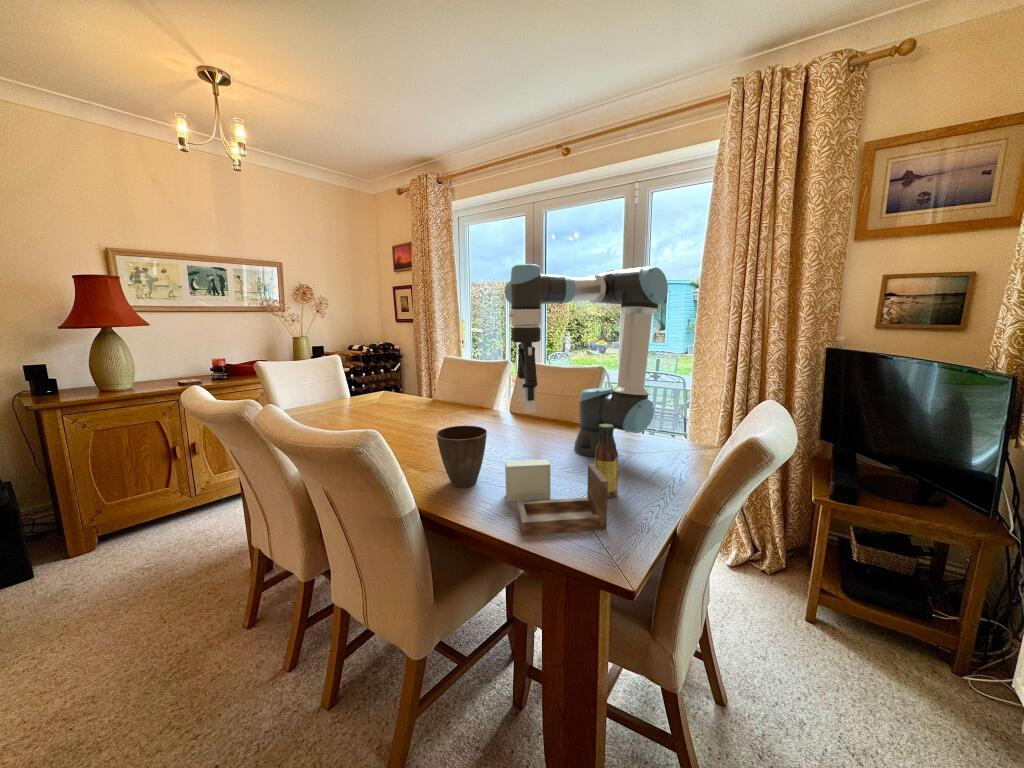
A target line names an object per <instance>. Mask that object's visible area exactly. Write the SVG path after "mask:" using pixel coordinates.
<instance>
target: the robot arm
mask: <svg viewBox="0 0 1024 768" xmlns="http://www.w3.org/2000/svg"><path fill="white" fill-rule="evenodd" d="M510 273H511V274H510V280H509V281H508V282H507V283H506V285H505V287H504V295H505V299H506V301H507V302H508V304H511V313H509V316H508V317H509V318H511V325H512V326H513V327H512V328H511V342H513V343H518V346H517V347H518V349H517V354H518V356H517V372H516V374H517V377H518V379H517V380H518V381H517V382H518V390H517V391H518V395H517V396H518V402H524V413H525V414H536V413H537V407H536V406H537V405H536V404H537V403H536V402H537V398H536V397H537V395H536V391H537V386H538V380H537V379H538V378H537V377H538V376H537V365H536V364H537V363H536V347H535V346H533V343H538V342H541V340H542V338H541V334H542V333H541V332H542V331H541V328H540V327H539V326H540V325H542V319H541V318H542V310H541V309H542V308H541V305H547V304H548V305H551V304H552V305H553V304H557V305H562V304H569V303H571V302H583V301H586V302H587V301H588V302H589V303H592V304H596V303H597V304H598V303H600V304H609V305H620V309H621V311H622V312H623V313H624V323H623V330H622V338H621V339H622V340H621V350H620V359H619V368H618V378H617V379H618V380H617V385H616V386H615V387H614V388H612V387H594V388H587V389H584V390H582V391H581V392H580V395H579V401H578V403H579V430H578V432H577V435H576V438H575V442H574V451H575V452H576V453H578V454H579V455H583V456H587V457H593V458H595V449H596V446H597V445H598V443H599V425H600V424H612V425H613V426H614V429H617V430H620V431H624V432H626V433H632V434H640V433H642V432H644V431H646V430H647V429H648V427H650V425H651V422H652V421H653V419H654V415H655V414H654V413H655V407H654V404H653V402H652V401H651V400H650V399H648V398H649V392H648V391H647V390H646V388H645V382H646V373H647V366H648V365H647V364H648V357H649V347H650V346H649V345H650V338H651V329H652V322H653V321H652V320H653V315H654V314H656V312H657V311H658V310H659V305H660V304H662V303H664V301H666V299H667V297H668V292H669V285H668V279H667V276H666V275H665V272H663V270H662V269H661V268H659V267H657V266H642V267H641V266H640V267H633V268H625V269H617V270H612V271H611V270H610V271H608V272H602V273H593V274H590V275H589V276H586V277H572V276H571V277H570V276H568V275H563V274H543V273H542V271H541V265H538V264H534V263H533V264H532V263H525V264H524V263H523V264H522V263H521V264H516V265H513V267H512V268H511V272H510ZM613 441H614V444H615V447H616V448H617V444H616V441H615V437H614V435H613Z"/></svg>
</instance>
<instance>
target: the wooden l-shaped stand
mask: <svg viewBox="0 0 1024 768" xmlns="http://www.w3.org/2000/svg"><path fill="white" fill-rule="evenodd" d="M586 489H587V492H586V493H587V495H586V496H587V497H576V498H575V497H573V498H559V499H539V500H522V501H516V513H517V517H518V519H517V520H518V522H519V526H520V530H521V531H520V532H521V534H522V536H528V535H529V536H530V535H541V534H555V533H556V534H557V533H572V532H584V531H585V532H589V531H600V530H601V531H602V530H607V525H608V524H607V523H608V520H607V518H608V498H607V490H608V481H607V480H606V479H605V477H604V476H603V475H602V474H601V472H600V471H599V470H598V469H597V468H596V466H595V463H588V464H587V488H586Z"/></svg>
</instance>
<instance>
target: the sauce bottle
mask: <svg viewBox="0 0 1024 768" xmlns="http://www.w3.org/2000/svg"><path fill="white" fill-rule="evenodd" d="M614 430H615V428H614V426H613V425H612V424H600V425H599V443H598V445H597V446H596V449H595V457H594V465H595V466H596V468H597V469H598V470H599V471H600V472H601V474H602V475H603V476H604V477H605V479H606V480H607V481H608V490H607V499H610V498H614V497H616V496H617V494H618V488H619V487H618V486H619V484H618V483H619V481H618V479H619V478H618V477H619V463H618V462H619V455H618V450H617V446H616V447H615V444H614V441H613V436H614Z"/></svg>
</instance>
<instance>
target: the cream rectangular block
mask: <svg viewBox="0 0 1024 768" xmlns="http://www.w3.org/2000/svg"><path fill="white" fill-rule="evenodd" d="M504 465H505V466H504V467H505V470H504V471H505V476H504V477H505V498H506V502H522V501H538V500H551V463H550V461H549V459H545V458H544V459H528V460H525V459H524V460H509V461H507V460H505V461H504Z"/></svg>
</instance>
